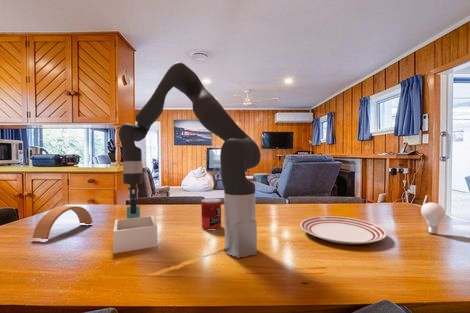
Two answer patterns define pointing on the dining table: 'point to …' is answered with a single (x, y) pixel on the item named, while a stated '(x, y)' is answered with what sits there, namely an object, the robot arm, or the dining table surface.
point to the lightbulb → (432, 216)
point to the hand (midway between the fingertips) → (133, 211)
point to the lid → (133, 214)
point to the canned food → (211, 213)
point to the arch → (51, 216)
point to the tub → (134, 234)
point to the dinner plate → (343, 230)
